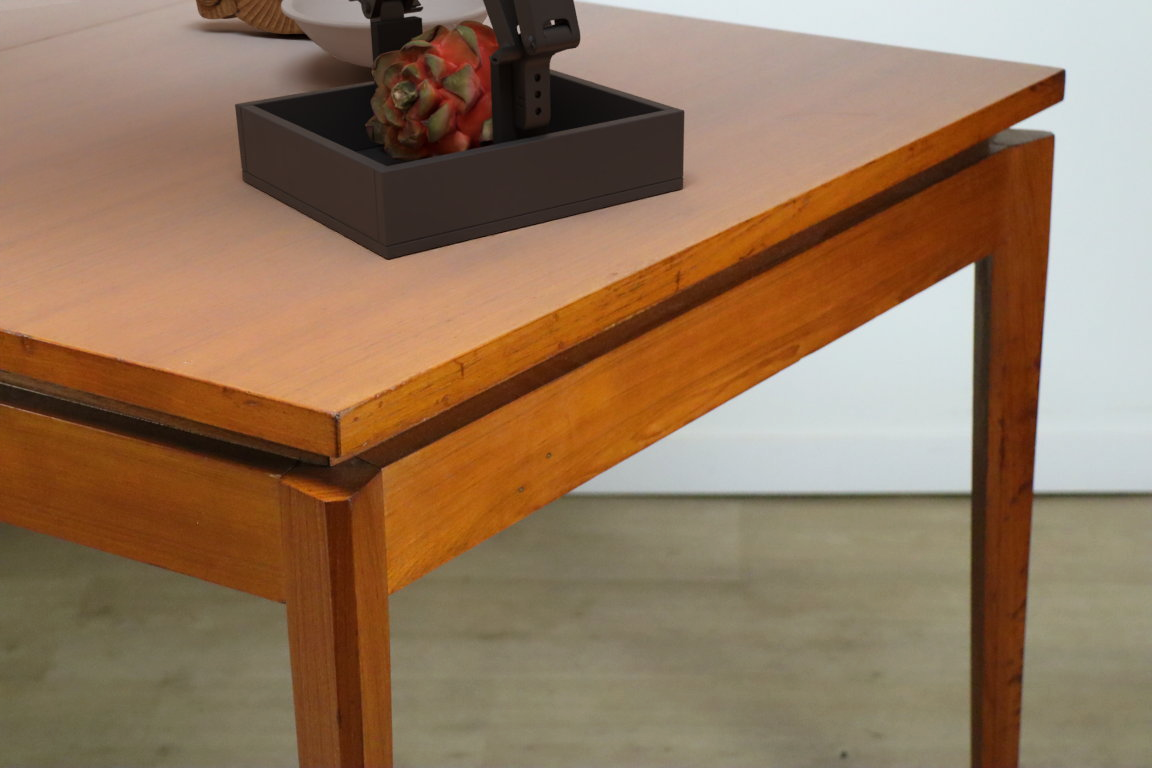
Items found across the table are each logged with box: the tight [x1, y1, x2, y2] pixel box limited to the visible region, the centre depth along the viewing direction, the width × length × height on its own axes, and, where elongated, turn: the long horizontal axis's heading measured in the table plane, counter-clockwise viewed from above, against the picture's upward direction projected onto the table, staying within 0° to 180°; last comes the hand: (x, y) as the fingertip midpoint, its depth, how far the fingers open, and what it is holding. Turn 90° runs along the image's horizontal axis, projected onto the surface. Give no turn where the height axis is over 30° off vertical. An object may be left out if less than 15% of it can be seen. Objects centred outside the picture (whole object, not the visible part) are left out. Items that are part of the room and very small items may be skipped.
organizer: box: [234, 68, 685, 260], centre depth 78 cm, size 15×17×4 cm
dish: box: [281, 0, 489, 69], centre depth 101 cm, size 18×14×5 cm
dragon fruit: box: [365, 20, 499, 162], centre depth 77 cm, size 8×8×12 cm
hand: (459, 164), depth 78 cm, fingers closed on dragon fruit, 11 cm apart
